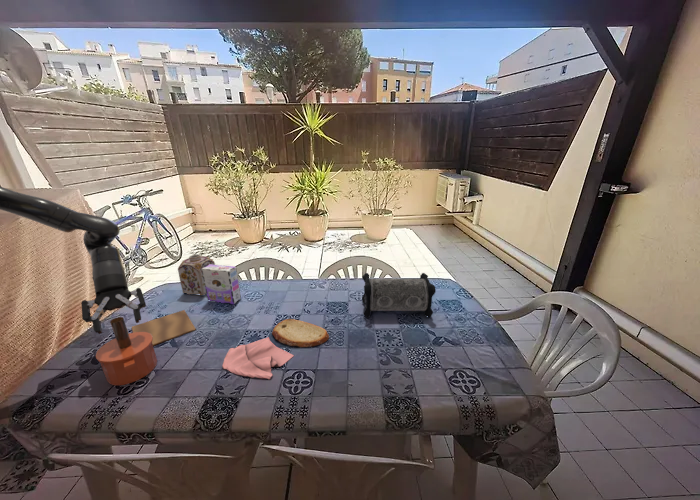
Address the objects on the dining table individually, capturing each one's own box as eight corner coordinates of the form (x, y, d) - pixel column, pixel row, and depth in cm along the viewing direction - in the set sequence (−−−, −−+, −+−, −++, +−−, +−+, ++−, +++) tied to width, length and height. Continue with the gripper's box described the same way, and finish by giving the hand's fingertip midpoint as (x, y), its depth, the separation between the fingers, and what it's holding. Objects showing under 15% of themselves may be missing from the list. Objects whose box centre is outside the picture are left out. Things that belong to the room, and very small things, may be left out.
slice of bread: (332, 340, 98) (332, 331, 97) (283, 358, 89) (282, 348, 88) (312, 316, 112) (312, 308, 111) (269, 329, 104) (268, 321, 103)
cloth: (222, 349, 93) (221, 343, 92) (285, 333, 102) (285, 327, 101) (222, 394, 76) (221, 387, 75) (299, 370, 84) (299, 364, 83)
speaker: (361, 301, 124) (362, 271, 119) (423, 301, 124) (426, 271, 119) (363, 320, 110) (364, 287, 105) (433, 319, 110) (437, 286, 105)
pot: (108, 398, 74) (99, 374, 71) (106, 363, 87) (97, 341, 84) (162, 375, 82) (155, 352, 79) (152, 346, 94) (146, 325, 92)
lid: (97, 372, 73) (85, 341, 69) (96, 347, 82) (85, 318, 79) (156, 349, 81) (148, 320, 78) (149, 329, 91) (142, 302, 87)
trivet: (137, 351, 92) (137, 350, 92) (131, 327, 104) (131, 326, 104) (196, 330, 103) (195, 328, 103) (184, 310, 116) (184, 309, 116)
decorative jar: (204, 296, 128) (197, 261, 122) (182, 294, 129) (174, 259, 123) (219, 285, 139) (214, 252, 133) (199, 283, 140) (192, 250, 134)
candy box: (241, 298, 126) (237, 266, 120) (233, 305, 120) (228, 271, 115) (216, 295, 129) (210, 263, 123) (207, 301, 123) (200, 268, 118)
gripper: (140, 277, 91) (150, 322, 86) (82, 289, 83) (90, 339, 78) (136, 267, 85) (147, 315, 80) (74, 279, 77) (81, 333, 72)
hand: (119, 327), depth 79 cm, fingers open, 8 cm apart
